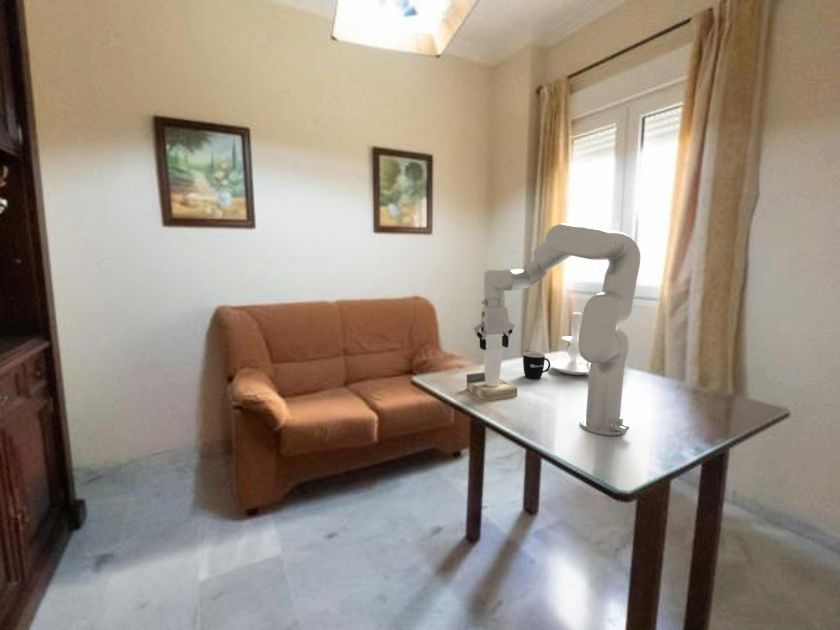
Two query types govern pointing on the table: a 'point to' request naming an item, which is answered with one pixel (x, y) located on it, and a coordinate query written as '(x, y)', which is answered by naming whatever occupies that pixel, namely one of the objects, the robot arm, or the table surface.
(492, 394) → the dock
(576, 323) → the candlestick
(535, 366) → the mug
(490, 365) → the white tapered cup
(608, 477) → the table surface
